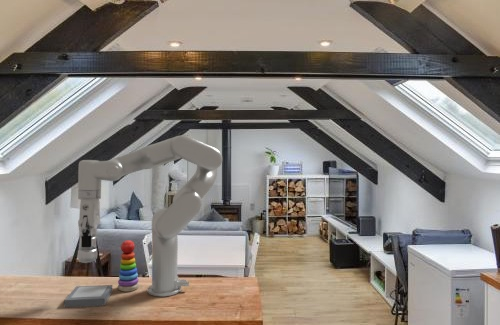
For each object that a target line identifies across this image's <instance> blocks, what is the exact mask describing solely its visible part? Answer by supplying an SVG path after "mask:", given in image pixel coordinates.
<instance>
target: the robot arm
mask: <svg viewBox="0 0 500 325" xmlns="http://www.w3.org/2000/svg"><path fill="white" fill-rule="evenodd" d="M180 159H182V160H184V161H187V162H188V163H192V164H193V165H196V170H195V172H194V174H193V175H192V176H191V178H189V180H188V181H187V182H186V183H185V184H184V185H183V186H182V187H181V188H180V189H179V190H178V191H177V192H176V193H175V194H174V195H173V199H172V203H171V204H170V205H169V206H168V207H166V208H165V207H163V208H159V209H158V210H156V211H155V213H154V214H153V216H152V218H151V239H152V240H151V245H152V246H151V285H150V286H148V287H147V294H149V295H150V296H154V297H170V296H174V295H176V294H179V293H180V292H181V290H182V287H189V286H190V281H189V280H187V279H181V278H179V275H178V246H179V245H178V236H179V234H180V233H181V232H182V231H183V230H184V229H186V227H187V226H188V225H189V224H190V223H191V221H192V220H193V219H195V218H196V216H197V215H198V213H199V212H200V210H201V208H202V204H203V202H202V201H203V200H202V199H203V198H204V197H205V196H206V195H207V193H208V192H209V191H210V190H211V188H212V187H213V186H214V184H215V182H216V180H217V176H218V168H219V167H221V166H222V163H223V155H222V153H221V152H220V150H218V148H216V147H213V146H211V145H208V144H206V143H205V142H202V141H200V140H197V139H196V138H193V137H191V136H188V135H185V134H182V135H176V136H174V137H171V138H167V139H165V140H162V141H160V142H159V141H158V142H156V143H152V144H149V145H147V146H144V147H141V148H140V149H137V150H135V151H133V152H129V153H126V154H124V155H121V156H118V157H115V158H112V159H109V160H101V161H100V160H98V159H96V160H95V159H83V160H80V161H79V162H78V171H77V174H78V182H77V183H78V184H77V188H78V190H77V191H78V192H77V199H78V200H80V201H79V202H80V203H79V204H80V205H79V219H78V221H79V223H80V227H81V226H82V227H81V230H82V242H81V247H91V243H92V236H90V235H91V226H92V228H94V227H95V226H97V227H98V225H100V223H101V204H100V203H101V202H100V200H101V198H102V180H103V181H107V182H108V181H109V182H115V181H118V180H120V179H122V177H124V176H127V175H129V174H132V173H135V172H139V171H142V170H143V171H144V170H152V169H155V168H157V167H160V166H163V165H166V164H169V163H171V162H174V161H177V160H180ZM97 221H98V224H97ZM82 222H83V223H82ZM81 224H82V225H81ZM87 224H88V225H90V227H86V226H87ZM88 229H89V232H88Z"/></svg>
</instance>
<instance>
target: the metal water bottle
mask: <svg viewBox="0 0 500 325" xmlns="http://www.w3.org/2000/svg"><path fill="white" fill-rule="evenodd" d="M82 223H83V222H82ZM77 224H78V226H77V227H78V231H79V234H78V235H79V244H78V250H77V255H76V257H77V260H78V262H79V263H82V264H83V263H84V264H86V263H87V264H88V263H92V262H94V261H96V260H97V259H98V248H97V230H98V225H99V224H98V221H97V224H98V225H97V226H95V227H94V228H92V226H91V235H90V236H92V243H91V247H81V242H82V230H81V227H82V226H81V227H80V223H79V220H78V221H77ZM81 225H82V224H81ZM86 227H90V225H88V224H87V226H86ZM88 232H89V229H88Z"/></svg>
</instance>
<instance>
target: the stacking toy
mask: <svg viewBox="0 0 500 325" xmlns="http://www.w3.org/2000/svg"><path fill="white" fill-rule="evenodd" d="M135 247H136V246H135V243H134V242H133V241H132V240H129V239H128V240H125V241H122V243H121V246H120V249H121V252H122V253H121V255H120V257H121V259H120V265H119V268H120V269H119V276H118V280H117V283H118V284H117V289H118V290H119V291H120V292H132V291H135V290H136V289H138V288H139V287H140V283H139V278H138V276H139V274H138V269H137V264H136V258H135V256H136V254H135V252H133V251H134V250H135Z"/></svg>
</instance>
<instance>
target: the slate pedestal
mask: <svg viewBox="0 0 500 325" xmlns="http://www.w3.org/2000/svg"><path fill="white" fill-rule="evenodd" d="M112 293H113V284H105V285H104V284H103V285H102V284H101V285H100V284H99V285H77V286H75V287H74V288H73V290H72V291H71V292H70V293H69V294H68V295H67V297H66V298H65V299H64V308H78V307H79V308H80V307H81V308H82V307H99V306H106V304H107V302H108V300H109V298H110V296H111V295H112Z"/></svg>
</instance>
